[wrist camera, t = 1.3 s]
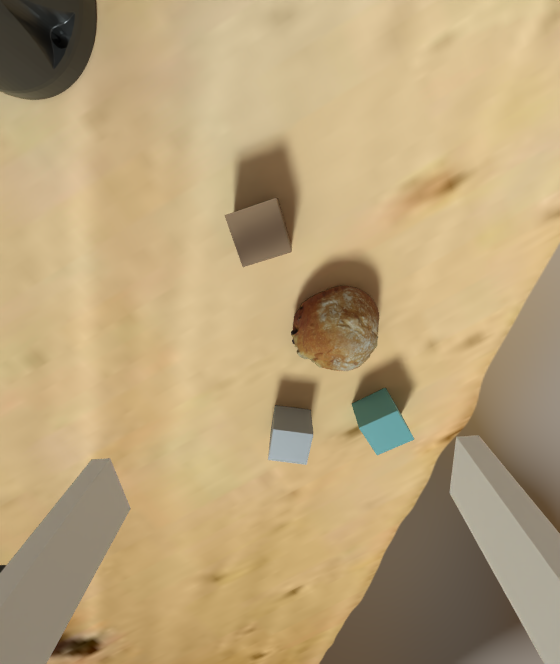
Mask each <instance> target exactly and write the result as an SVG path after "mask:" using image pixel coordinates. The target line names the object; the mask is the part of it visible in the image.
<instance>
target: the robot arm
mask: <svg viewBox="0 0 560 664" xmlns="http://www.w3.org/2000/svg"><path fill="white" fill-rule="evenodd" d="M95 30H96V6H95V0H0V92H3V93H5V94H8V95H11V96H14V97H17V98H22V99H30V100H39V99H46V98H50V97H53V96H56V95H58V94H60V93H62V92H63V91H65V90H66V89H68V88H69V87H70V86H71V85H72V84H74V82H75V81H76V80H77V79H78V78H79V76H80V75H81V74H82V72H83V70H84V69H85V67H86V65H87V63H88V60H89V58H90V55H91V52H92V48H93V44H94V38H95ZM450 494H451V496H452V498H453V500H454V502H455V504H456V505H457V507H458V509H459V511H460V513H461V514H462V516H463V518H464V520H465V522H466V523H467V525H468V527H469V528H470V531H471V532H472V534H473V536H474V538H475V540H476V541H477V543H478V545H479V547H480V549H481V550H482V552H483V554H484V556H485V558H486V559H487V561H488V563H489V565H490V567H491V569H492V570H493V572H494V574H495V576H496V577H497V579H498V581H499V583H500V584H501V586H502V588H503V590H504V592H505V593H506V596H507V597H508V599H509V601H510V603H511V605H512V606H513V608H514V610H515V612H516V614H517V615H518V617H519V619H520V621H521V623H522V624H523V626H524V628H525V630H526V632H527V633H528V635H529V637H530V639H531V641H532V643H533V644H534V646H535V648H536V650H537V651H538V653H539V655H540V657H541V659H542V661H543V662H544V664H560V534H559V532H558V531H557V530H556V529H555V528H554V526H553V525H552V524H551V523H550V522H549V520H548V519H547V518H546V517H545V515H544V514H543V513H542V512H541V511H540V509H539V508H538V507H537V506H536V505H535V503H534V502H533V501H532V500H531V498H530V497H529V496H528V495H527V494H526V492H525V491H524V490H523V489H522V488H521V486H520V485H519V484H518V483H517V481H516V480H515V479H514V478H513V477H512V475H511V474H510V473H509V472H508V471H507V470H506V468H505V467H504V466H503V464H501V462H500V461H499V460H498V458H497V457H496V456H495V455H494V454H493V452H492V451H491V450H490V449H489V447H488V446H487V445H486V444H485V443H484V441H483V440H482V439H481V438H480V437H479V436H462V437H456V444H455V453H454V462H453V469H452V478H451V486H450ZM129 510H130V506H129V504H128V501H127V499H126V496H125V494H124V491H123V489H122V486H121V484H120V481H119V479H118V476H117V474H116V472H115V469H114V467H113V464H112V462H111V459H110V458H108V459H92V460H91V461H90V462H89V463H88V465H87V466H86V467H85V468H84V470H83V471H82V472H81V473H80V475H79V476H78V477H77V478H76V480H75V481H74V482H73V483H72V485H71V486H70V487H69V488H68V490H67V491H66V492H65V493H64V495H63V496H62V497H61V498H60V499H59V501H58V502H57V503H56V504H55V506H54V507H53V508H52V509H51V511H50V512H49V513H48V514H47V516H46V517H45V518H44V519H43V521H42V522H41V523H40V524H39V526H38V527H37V528H36V529H35V531H34V532H33V533H32V534H31V535H30V537H29V538H28V539H27V540H26V542H25V543H24V544H23V545H22V547H21V548H20V549H19V550H18V552H17V553H16V554H15V555H14V557H13V558H12V559H11V560H10V562H9V563H8V564H7V565H0V664H46V663H47V661H48V659H49V658H50V656H51V654H52V652H53V650H54V648H55V646H56V645H57V643H58V641H59V639H60V637H61V635H62V634H63V632H64V630H65V628H66V626H67V624H68V623H69V621H70V619H71V617H72V615H73V613H74V612H75V610H76V608H77V606H78V604H79V602H80V600H81V599H82V597H83V595H84V593H85V591H86V589H87V588H88V586H89V584H90V582H91V580H92V578H93V577H94V575H95V573H96V571H97V569H98V567H99V566H100V564H101V562H102V560H103V558H104V556H105V554H106V553H107V551H108V549H109V547H110V545H111V543H112V542H113V540H114V538H115V536H116V534H117V532H118V531H119V529H120V527H121V525H122V523H123V521H124V520H125V518H126V516H127V514H128V512H129Z"/></svg>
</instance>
